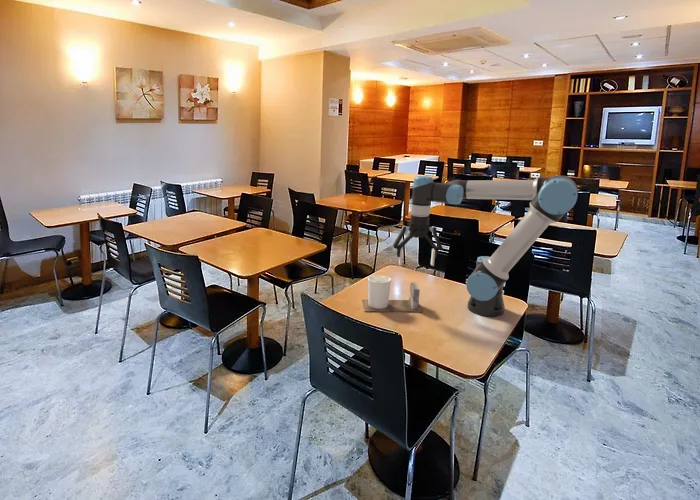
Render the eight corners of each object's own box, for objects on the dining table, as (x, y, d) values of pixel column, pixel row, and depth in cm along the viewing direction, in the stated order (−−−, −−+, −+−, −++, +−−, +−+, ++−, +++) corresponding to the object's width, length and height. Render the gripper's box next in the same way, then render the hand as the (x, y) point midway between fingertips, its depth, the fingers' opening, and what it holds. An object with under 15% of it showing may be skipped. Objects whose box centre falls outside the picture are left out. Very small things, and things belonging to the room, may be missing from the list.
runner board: (416, 300, 196) (418, 281, 193) (422, 312, 184) (423, 291, 181) (362, 300, 194) (363, 280, 192) (364, 311, 183) (365, 290, 180)
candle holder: (388, 311, 183) (389, 283, 180) (364, 308, 185) (366, 281, 182) (390, 302, 192) (392, 276, 189) (368, 299, 194) (369, 273, 191)
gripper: (448, 213, 183) (443, 262, 189) (388, 212, 181) (385, 261, 187) (453, 217, 176) (447, 268, 182) (390, 215, 174) (387, 266, 180)
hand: (416, 264), depth 184 cm, fingers open, 13 cm apart
